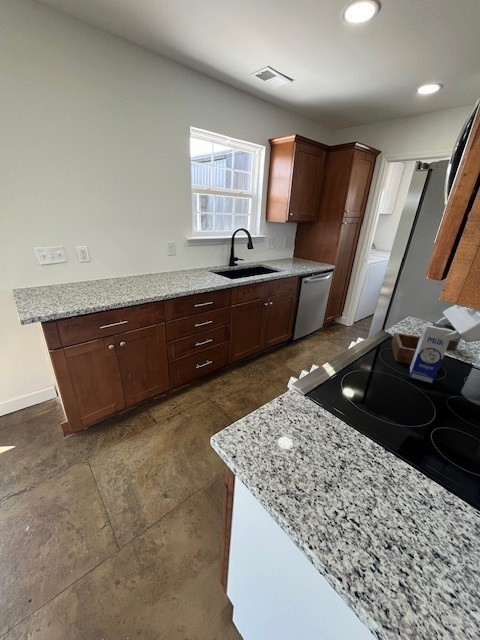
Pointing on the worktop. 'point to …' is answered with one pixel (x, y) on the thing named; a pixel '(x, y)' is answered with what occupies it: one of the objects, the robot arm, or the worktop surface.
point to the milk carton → (429, 353)
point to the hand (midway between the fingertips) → (437, 333)
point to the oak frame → (405, 347)
